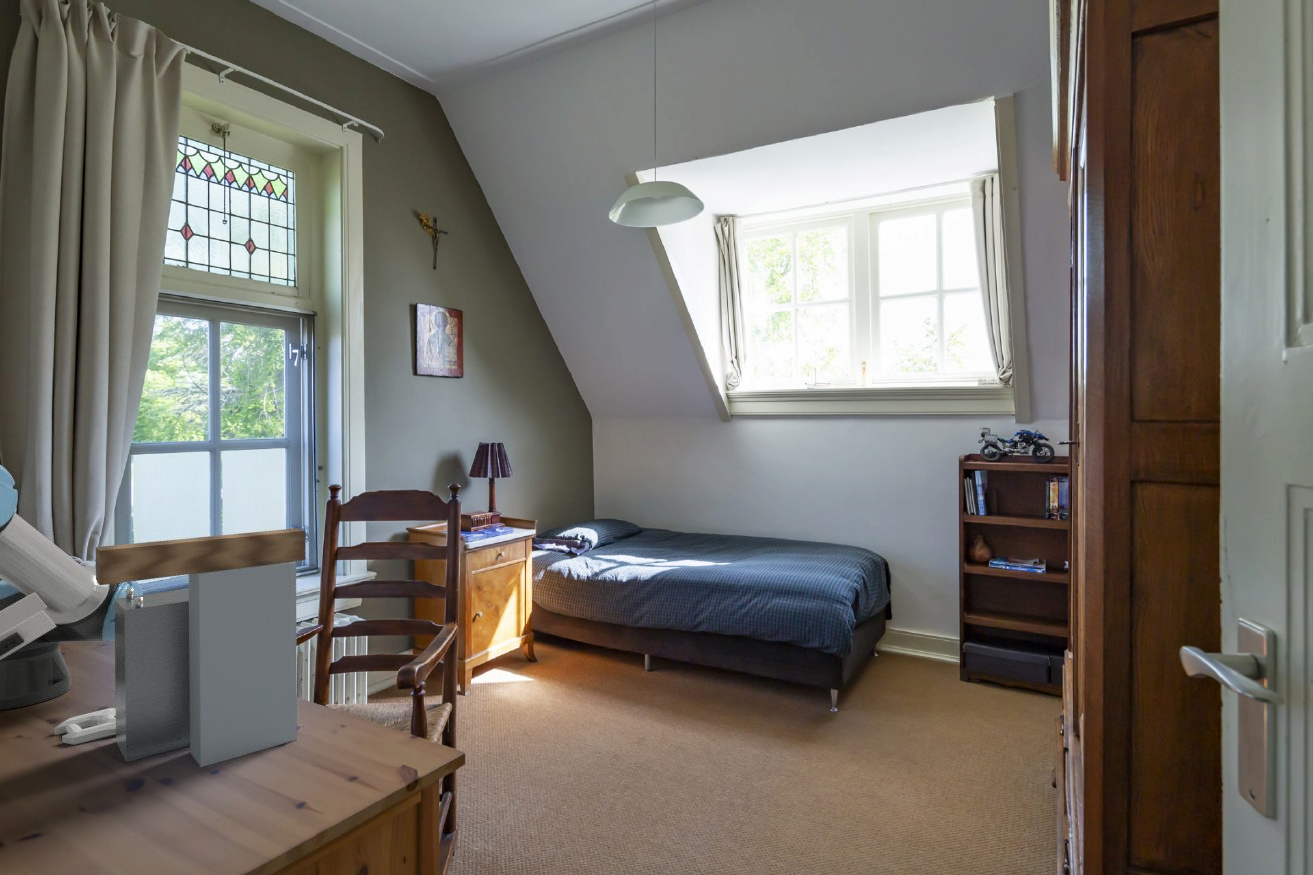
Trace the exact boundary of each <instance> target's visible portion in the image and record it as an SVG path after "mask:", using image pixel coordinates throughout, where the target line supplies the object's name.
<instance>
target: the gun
mask: <svg viewBox="0 0 1313 875" xmlns="http://www.w3.org/2000/svg"><path fill="white" fill-rule="evenodd" d="M53 732H54V734H53V735H54V736H58V735H62V734H64V735H62V737H61V739H62V743H64V744H69V745H79V744H84V743H87V742H92V741H96V740H100V739H104V738H108V737H113V736H116V707H110V708H109V707H108V708H104V709H101V710H97V711H93V712H92V711H91V712H89V713H84V714H79V715H77V716H73V717H72V716H71V717H70V718H69V717H68V719H66V720H64V721H63V722H61V723H60V724H58V725H56V727H54V728H53Z"/></svg>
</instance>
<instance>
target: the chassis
mask: <svg viewBox="0 0 1313 875" xmlns="http://www.w3.org/2000/svg"><path fill="white" fill-rule="evenodd" d="M114 611H115V641H114V679H115V680H114V682H115V684H114V685H115V686H114V689H115V691H114V692H115V693H114V694H115V698H114V699H115V708H116V735H115V742H116V744H117V747H118V749H119V751H120V753H121V755H122V756H123V758H124V761H125V763H128V762H131V761H135V760H140V759H143V758H147V757H151V756H155V755H158V754H162V753H166V752H169V751H174V750H177V749H180V748H184V747H188V746H189V747H190V669H189V588H184V589H175V590H170V591H163V592H162V591H160V592H155V593H146V594H143V595H139V596H134V588H128V589H126V597H124V598H117V599H114Z"/></svg>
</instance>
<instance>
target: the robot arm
mask: <svg viewBox="0 0 1313 875" xmlns="http://www.w3.org/2000/svg"><path fill="white" fill-rule="evenodd" d="M15 484H16V482H15V480H14V477H13V476H12V474H10V472H9V471H8V470H7V469H6V468H5V467H4V466H3V465H1V464H0V579H1V580H0V711H1V710H9V709H16V708H21V707H25V706H31V705H34V704H38V703H42V702H45V701H48V700H51V699H54V698H57V697H59V696H62V695H64V694H66V693H67V692H69V691H70V689H71V688H72V674H71V671H70V670H69V668H68V666H67V663H66V661H65V658H64V656H63V655H62V651H61V648H60V645H61V644H60V643H73V642H74V643H75V642H76V643H78V642H80V643H81V642H88V643H89V642H103V643H108V642H113V641H114V642H115V611H114V599H117V598H124V597H126V589H128V588H134V596H139V595H144V593H143V589H142V586H141V585H140V583H139V582H138V581H131V582H123V583H115V584H107V585H99V584H98V583H97V582H96V566H91V565H82V564H80V563H78V561H76V560H75V559H73V557H72V556H70V555H69V554H68V553H66V552H65V551H63V549H62V548H60V547H58V546H57V545H56V544H55V543H54V542H53V541H51V540H50V539H49V538H47V537H46V536H45V535H44V534H43V533H42V532H39V531H38V530H37V529H36V528H35V527H34V526H32V525H31V524H30V523H29V522H27V521H26V520H25V519H23V518H22V517H21V516H20V515H19V514H18V513H17V510H18V509H17V505H18V498H19V497H18V494H19V493H18V490H17V489H16V488H13V487H14V485H15Z"/></svg>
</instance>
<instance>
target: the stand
mask: <svg viewBox="0 0 1313 875" xmlns="http://www.w3.org/2000/svg"><path fill="white" fill-rule="evenodd" d="M188 589H189V669H190V745H189V747H190V748H189V750H190V751H189V753H190V754H191V756H192V757H193V758H194V760H195V762H197V764H198V765H199V767H200V768H203V767H207V766H210V765H214V764H217V763H220V762H224V761H228V760H232V759H235V758H238V757H241V756H245V755H248V754H253V753H255V752H256V753H257V752H259V751H263V750H266V749H271V748H273V747H276V746H277V747H278V746H280V745H283V744H286V743H291V742H294V741H297V740H298V704H297V703H298V695H297V694H298V692H297V691H298V689H297V688H298V686H297V682H298V681H297V678H298V677H297V676H298V675H297V673H298V672H297V669H298V667H297V666H298V665H297V663H298V662H297V660H298V658H297V657H298V656H297V655H298V654H297V653H298V652H297V648H298V647H297V646H298V645H297V561H292V562H284V563H276V564H268V565H260V566H252V567H244V568H236V569H228V570H220V571H212V572H203V573H195V574H188Z"/></svg>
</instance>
